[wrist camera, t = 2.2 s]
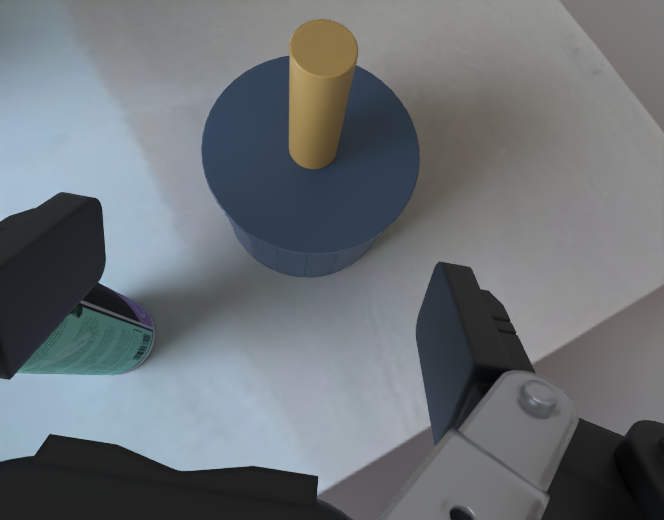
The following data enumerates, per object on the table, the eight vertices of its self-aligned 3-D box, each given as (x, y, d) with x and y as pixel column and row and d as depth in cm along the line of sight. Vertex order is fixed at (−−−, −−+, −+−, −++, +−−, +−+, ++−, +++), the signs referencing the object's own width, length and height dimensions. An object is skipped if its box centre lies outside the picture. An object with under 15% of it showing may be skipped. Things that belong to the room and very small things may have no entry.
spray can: (149, 291, 34) (-26, 180, 15) (161, 364, 33) (-12, 344, 14) (72, 308, 34) (-216, 213, 14) (82, 383, 32) (-219, 391, 13)
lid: (172, 105, 30) (116, -29, 20) (358, 40, 32) (389, -107, 23) (256, 293, 27) (239, 246, 17) (451, 207, 30) (531, 123, 20)
